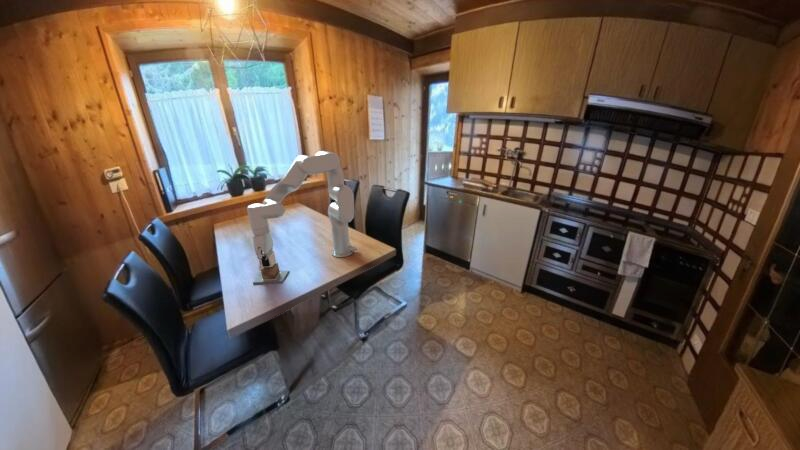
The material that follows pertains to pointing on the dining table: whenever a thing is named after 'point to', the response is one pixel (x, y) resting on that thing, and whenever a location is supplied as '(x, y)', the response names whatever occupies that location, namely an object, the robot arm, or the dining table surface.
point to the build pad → (279, 279)
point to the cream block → (270, 258)
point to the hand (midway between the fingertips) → (268, 263)
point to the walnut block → (270, 272)
